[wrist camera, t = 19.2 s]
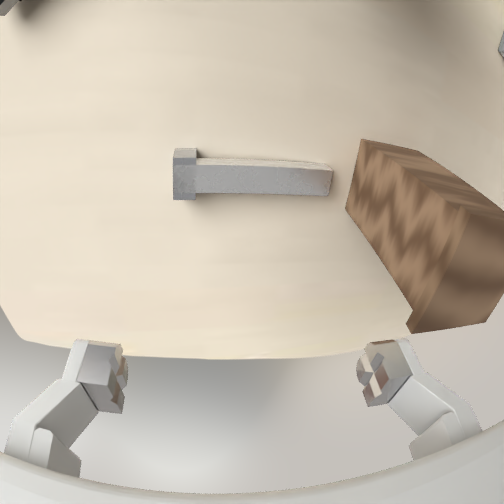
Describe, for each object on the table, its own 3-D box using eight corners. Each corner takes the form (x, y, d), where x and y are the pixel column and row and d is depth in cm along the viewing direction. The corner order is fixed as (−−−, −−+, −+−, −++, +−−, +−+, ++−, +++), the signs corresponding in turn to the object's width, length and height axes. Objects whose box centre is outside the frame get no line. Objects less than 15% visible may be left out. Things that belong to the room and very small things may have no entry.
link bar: (334, 164, 42) (323, 154, 45) (172, 157, 38) (175, 148, 41) (326, 202, 45) (316, 190, 49) (173, 199, 41) (175, 187, 45)
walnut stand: (356, 131, 42) (470, 213, 21) (423, 146, 44) (537, 226, 22) (338, 213, 50) (411, 333, 28) (402, 219, 51) (485, 322, 30)
